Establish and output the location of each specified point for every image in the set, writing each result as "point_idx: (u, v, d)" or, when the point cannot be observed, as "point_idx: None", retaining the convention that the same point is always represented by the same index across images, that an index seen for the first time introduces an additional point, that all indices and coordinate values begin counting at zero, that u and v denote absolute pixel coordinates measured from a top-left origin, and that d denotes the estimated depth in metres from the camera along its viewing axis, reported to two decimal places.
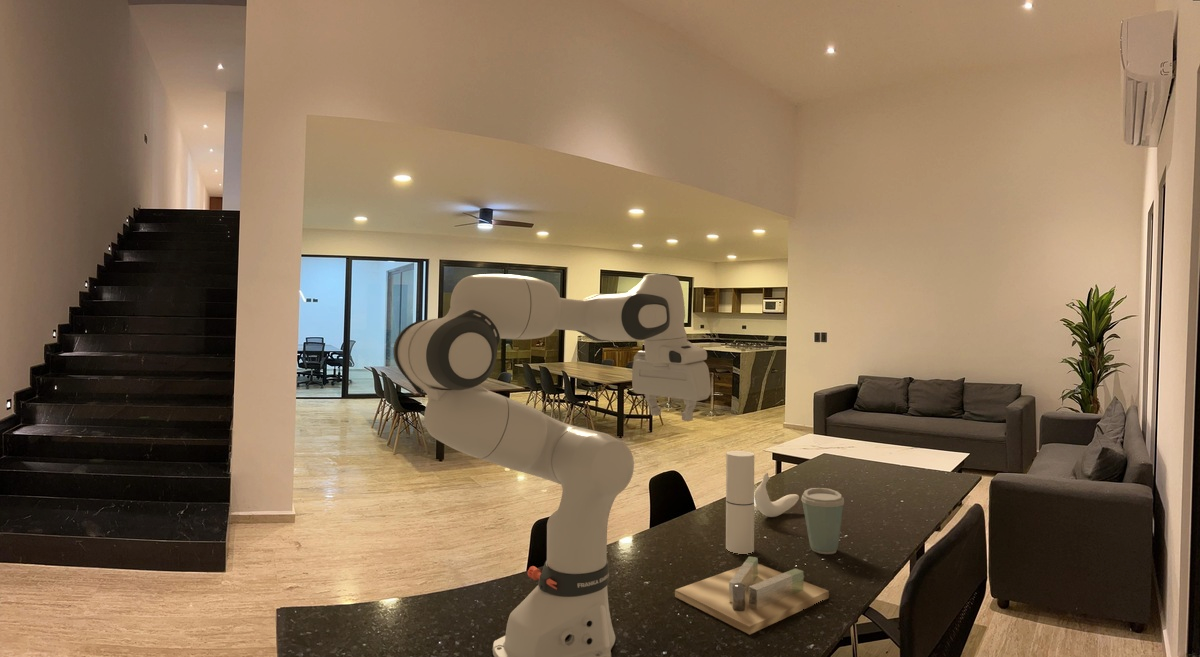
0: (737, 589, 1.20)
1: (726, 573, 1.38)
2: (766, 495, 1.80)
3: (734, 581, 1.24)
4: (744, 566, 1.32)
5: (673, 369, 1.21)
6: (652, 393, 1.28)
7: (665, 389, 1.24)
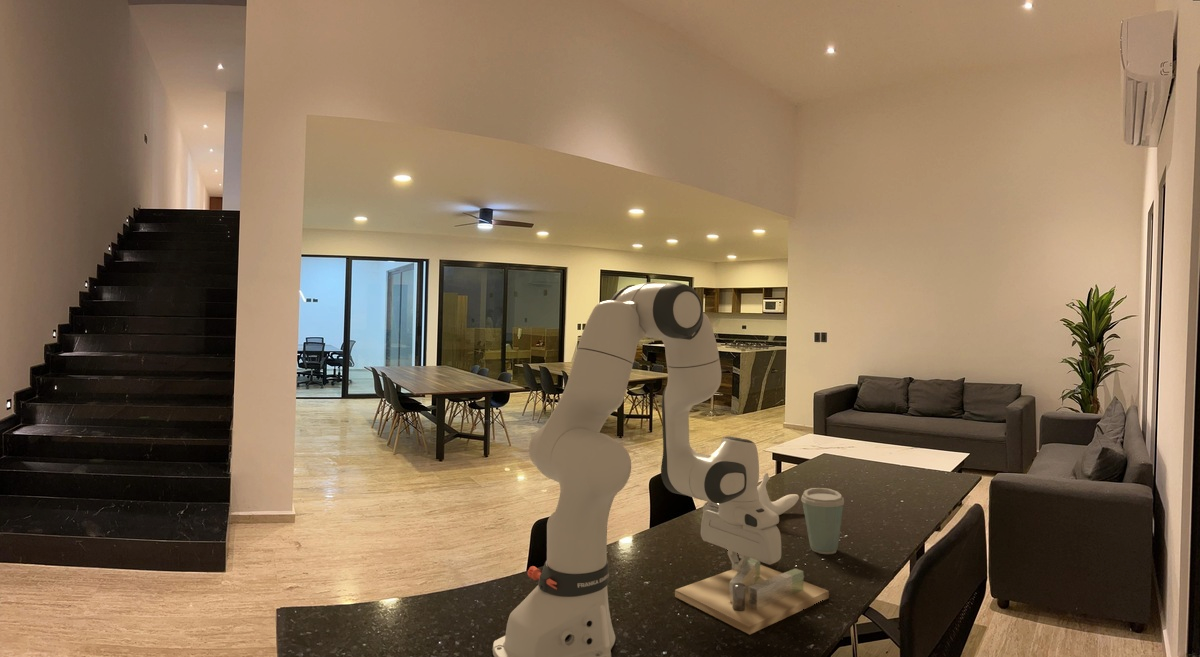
0: (736, 589, 1.20)
1: (726, 573, 1.38)
2: (766, 495, 1.80)
3: (734, 581, 1.24)
4: (746, 566, 1.32)
5: (746, 530, 1.31)
6: (721, 546, 1.37)
7: (736, 546, 1.34)
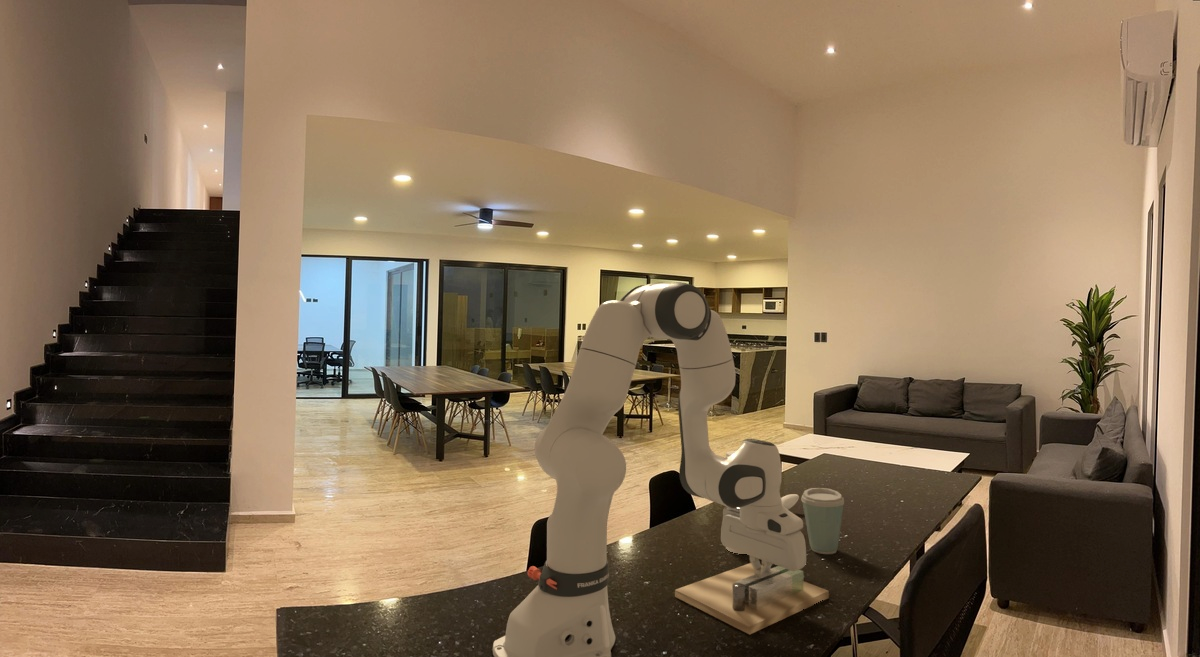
0: (734, 588, 1.20)
1: (726, 573, 1.38)
2: None
3: (741, 582, 1.24)
4: (768, 571, 1.29)
5: (769, 536, 1.27)
6: (743, 551, 1.33)
7: (758, 552, 1.29)
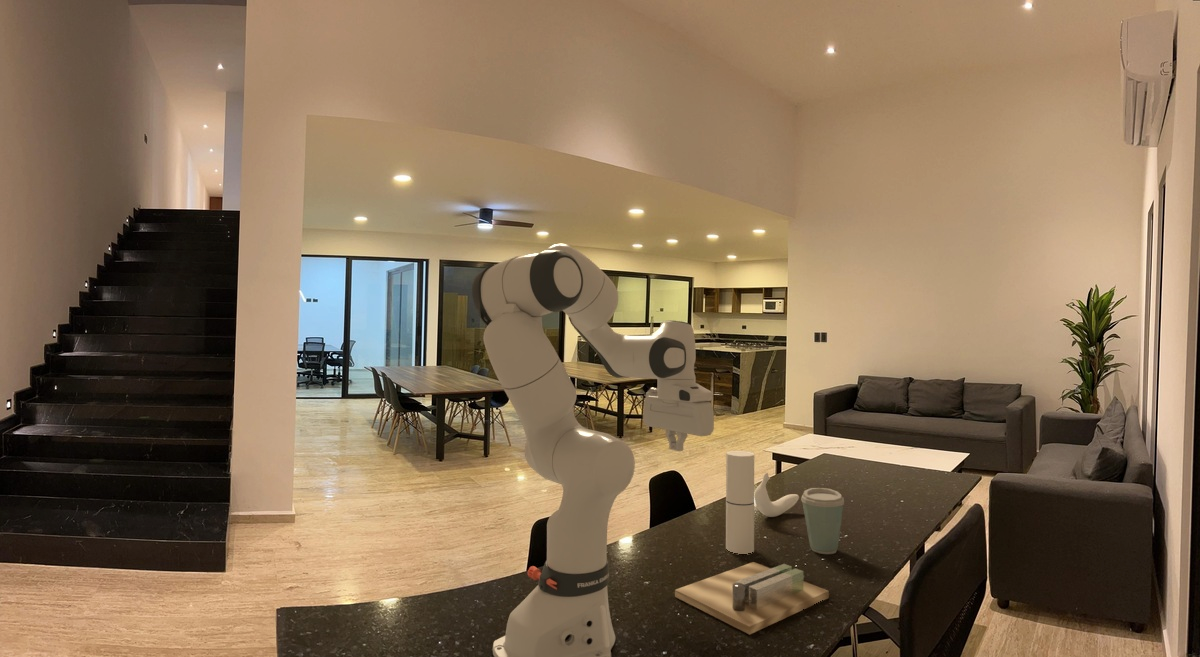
0: (734, 588, 1.20)
1: (726, 573, 1.38)
2: (766, 495, 1.80)
3: (741, 582, 1.24)
4: (768, 571, 1.29)
5: (681, 407, 1.37)
6: (660, 427, 1.43)
7: (672, 424, 1.39)
